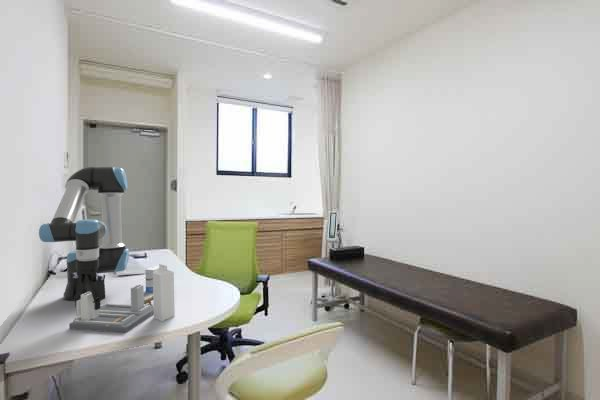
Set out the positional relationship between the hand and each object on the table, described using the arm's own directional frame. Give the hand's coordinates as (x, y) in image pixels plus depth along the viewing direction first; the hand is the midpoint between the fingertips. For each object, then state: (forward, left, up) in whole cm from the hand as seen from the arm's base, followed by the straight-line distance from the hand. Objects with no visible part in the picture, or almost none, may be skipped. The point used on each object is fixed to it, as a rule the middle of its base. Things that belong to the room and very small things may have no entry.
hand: (87, 316), depth 124 cm
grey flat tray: (+8, +5, -3) cm, 10 cm away
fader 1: (0, 0, -1) cm, 1 cm away
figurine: (+11, +21, -3) cm, 24 cm away
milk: (+26, +10, -3) cm, 28 cm away
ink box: (+1, +42, -3) cm, 42 cm away
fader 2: (+14, +10, -1) cm, 18 cm away
